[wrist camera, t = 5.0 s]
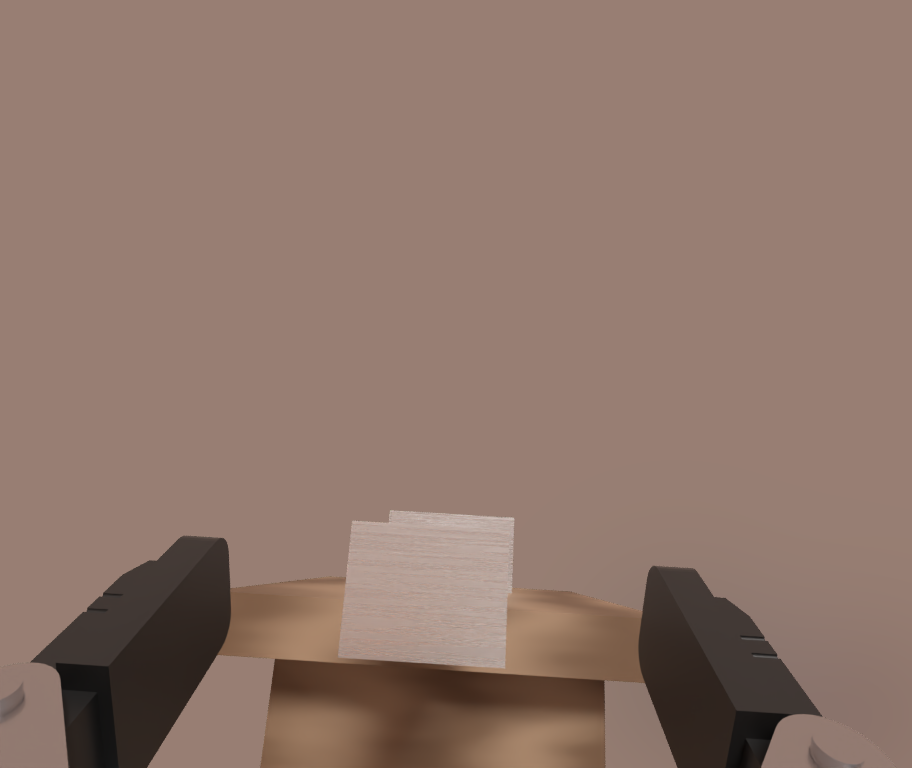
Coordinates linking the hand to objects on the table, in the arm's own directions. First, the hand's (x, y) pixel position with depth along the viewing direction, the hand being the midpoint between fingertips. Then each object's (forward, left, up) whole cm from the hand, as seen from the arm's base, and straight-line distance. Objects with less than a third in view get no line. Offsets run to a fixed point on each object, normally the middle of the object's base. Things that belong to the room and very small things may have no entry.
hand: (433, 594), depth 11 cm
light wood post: (0, -14, -1) cm, 14 cm away
